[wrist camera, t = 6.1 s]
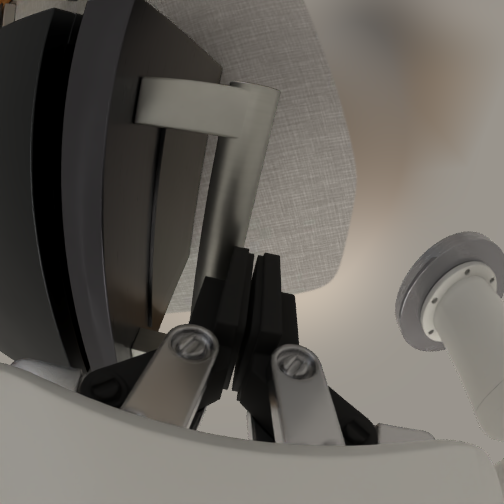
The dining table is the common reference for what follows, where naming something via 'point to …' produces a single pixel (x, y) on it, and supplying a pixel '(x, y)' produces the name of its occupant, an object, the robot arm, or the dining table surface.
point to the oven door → (150, 171)
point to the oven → (35, 191)
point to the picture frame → (7, 14)
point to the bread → (4, 1)
